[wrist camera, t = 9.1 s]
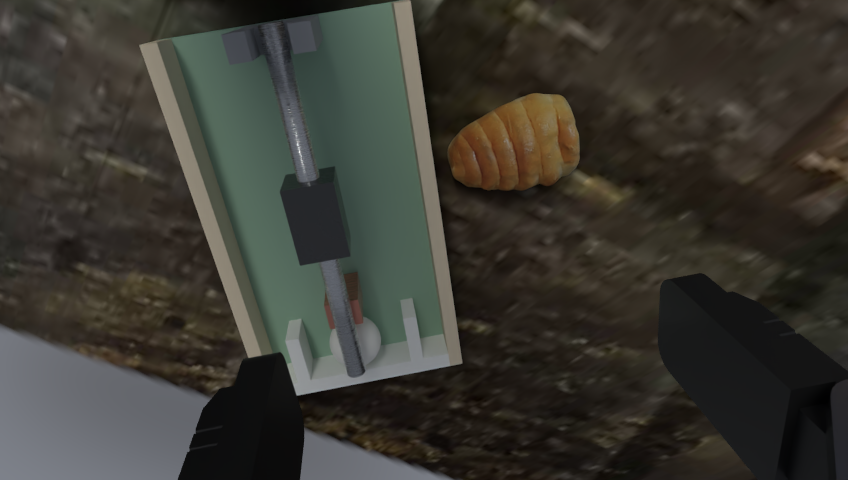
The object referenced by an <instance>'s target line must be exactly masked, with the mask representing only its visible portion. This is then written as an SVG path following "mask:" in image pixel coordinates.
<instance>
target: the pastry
mask: <svg viewBox="0 0 848 480" xmlns="http://www.w3.org/2000/svg"><path fill="white" fill-rule="evenodd" d="M447 155H448V161H449V164H450V167H451V171H452V175H453V177H454V178H455V179H456V180H458V181H459V182H461V183H463V184H464V185H465V186H467V187H478V188H483V189H485V190H488V191H489V190H496V189H499V190H504V191H509V190H512V189H515V190H520V191H522V190H526V189H528V188H530V187H533V186H535V185H537V184H542V185H544V186H550V185H553V184H554V183H556V182H557V181H558V179H559V178H561V177H562V176H568V175H569V174H571V172H572V171H573V170H574V169H575V168H576V166H577V165H578V163H579V159H580V157H579V134H578V131H577V129H576V126H575V119H574V116H573V114H572V111H571V108H570V106H569V104H568V103H567V101H566V99H565V98H564V97H563V96H560V95H552V94H539V93H533V94H529V95H527V96H524V97H521V98H518V99H516V100H514V101H512V102H510V103H507V104H505V105H502V106H500V107H498V108H496V109H495V110H493V111H491V112H489V113H488V114H486V115H484V116H483V117H481V118H479V119H478V120H476V121H474V122H472V123H471V124H469V125H467V126H466V127H464V128H463V129H462V130H461V131H460V132H459V133H458V134H457V135H456V136H455V137H454V139H453V140H452V141H451V143H450V145H449V147H448V150H447Z"/></svg>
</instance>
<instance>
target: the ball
mask: <svg viewBox="0 0 848 480" xmlns="http://www.w3.org/2000/svg"><path fill="white" fill-rule="evenodd" d="M356 330H357V334H358V338H359V342H360V346H361V351H362V355H363V359H364V363H365V365H367V364H368V363H370V362H371V361H372V360H373V359H374V358H375V357H376V356H377V354H378V352H379V350H380V346H381V336H380V332H379V330H378V328H377V326H376V325H375V324H374V323H373V322H372V321H371V320H370V319H368V318H366V317H363V323H362V324H357V325H356ZM329 342H330V349H331V352H332V354H333V356H334V357H335V359H336V360H337V361H338V362H340V363H341V364H343V365H345V364H344V360H343V356H342V352H341V348H340V344H339V341H338V337H337V333H336V329H333V330H332V332H331V335H330V341H329Z"/></svg>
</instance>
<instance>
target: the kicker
mask: <svg viewBox="0 0 848 480" xmlns="http://www.w3.org/2000/svg"><path fill="white" fill-rule="evenodd" d="M257 27H258V31H259V35H260V39H261V42H262V46H263V50H264V54H265V58H266V62H267V66H268V70H269V73H270V77H271V81H272V85H273V89H274V93H275V97H276V101H277V104H278V108H279V112H280V116H281V120H282V124H283V128H284V131H285V135H286V139H287V143H288V147H289V151H290V155H291V159H292V162H293V166H294V170H295V173H293V174H287V175H285V178H284V181H283V183H282V186H281V189H280V195H281V199H282V202H283V206H284V210H285V213H286V217H287V220H288V224H289V228H290V231H291V235H292V239H293V242H294V246H295V250H296V253H297V257H298V260H299V264H300V266H302V265H307V264H313V263H319V267H320V271H321V275H322V279H323V283H324V286H325V301H324V308H325V312H326V315H327V319H328V323H329V327H330V330H331V329H336V333H337V337H338V341H339V344H340V348H341V352H342V356H343V360H344V364H345V368H346V372H347V375H348V376H349V377H352V378H356V377H360V376H362V375H363V374H364V373H365V371H366V367H365V363H364V359H363V355H362V351H361V346H360V342H359V338H358V334H357V330H356V325H357V324H362V323H363V294H362V289H361V285H360V281H359V276H358V272H354V273H348V274H343V271H342V267H341V262H340V258H346V257H351V235H350V230H349V226H348V221H347V217H346V213H345V208H344V204H343V199H342V195H341V190H340V186H339V181H338V177H337V172H336V168H335V166H333V167H327V168H322V169H318V166H317V162H316V158H315V154H314V149H313V145H312V141H311V137H310V133H309V128H308V124H307V120H306V116H305V112H304V107H303V103H302V99H301V95H300V91H299V86H298V82H297V78H296V74H295V70H294V65H293V61H292V57H291V53H290V49H289V45H288V40H287V36H286V32H285V28H284V24H283V21H276V22H270V23H264V24H259V25H257Z"/></svg>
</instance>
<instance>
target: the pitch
mask: <svg viewBox="0 0 848 480" xmlns="http://www.w3.org/2000/svg"><path fill="white" fill-rule="evenodd" d="M277 21H283V24H284V28H285V32H286V36H287V40H288V45H289V49H290V53H291V57H292V61H293V65H294V70H295V74H296V78H297V82H298V86H299V91H300V95H301V99H302V103H303V107H304V112H305V116H306V120H307V124H308V128H309V133H310V137H311V141H312V145H313V149H314V154H315V158H316V162H317V166H318V169H322V168H327V167H333V166H335V168H336V172H337V177H338V181H339V186H340V190H341V195H342V199H343V204H344V208H345V213H346V217H347V221H348V226H349V230H350V235H351V257H346V258H340V262H341V267H342V271H343V274H348V273H354V272H358V276H359V281H360V285H361V289H362V294H363V317H366V318H368V319H370V320H371V321H372V322H373V323H374V324H375V325H376V326H377V328H378V330H379V332H380V336H381V346H380V350H379V352H378V354H377V356H376V357H375V358H374V359H373V360H372V361H371V362H370V363H368V364H367V365H365V367H366V371H365V373H364V374H363V375H362V376H360V377H356V378H352V377H349V376H348V375H347V372H346V368H345V365H343V364H341V363H340V362H338V361H337V360H336V359H335V357H334V356H333V354H332V352H331V349H330V342H329V341H330V335H331V332H332V330H333V329H331V330H330V327H329V323H328V319H327V315H326V312H325V308H324V301H325V286H324V283H323V279H322V275H321V271H320V267H319V263H313V264H307V265H302V266H300V264H299V260H298V257H297V253H296V250H295V246H294V242H293V239H292V235H291V231H290V228H289V224H288V220H287V217H286V213H285V210H284V206H283V202H282V199H281V195H280V189H281V186H282V183H283V181H284V178H285V175H287V174H293V173H295V170H294V166H293V162H292V159H291V155H290V151H289V147H288V143H287V139H286V135H285V131H284V128H283V124H282V120H281V116H280V112H279V108H278V104H277V101H276V97H275V93H274V89H273V85H272V81H271V77H270V73H269V70H268V66H267V62H266V58H265V54H264V50H263V46H262V42H261V39H260V35H259V31H258V27H257V25H259V24H264V23H270V22H264V23H258V24H252V25H246V26H240V27H234V28H228V29H221V30H215V31H209V32H203V33H197V34H191V35H185V36H179V37H172V38H166V39H161V40H157V41H153V42H149V43H146V44H142V45H139V46H140V49H141V51H142V54H143V57H144V60H145V63H146V66H147V69H148V71H149V74H150V77H151V80H152V83H153V86H154V89H155V91H156V94H157V97H158V100H159V103H160V106H161V109H162V112H163V114H164V117H165V120H166V123H167V126H168V129H169V132H170V134H171V137H172V140H173V143H174V146H175V149H176V152H177V154H178V157H179V160H180V163H181V166H182V169H183V172H184V174H185V177H186V180H187V183H188V186H189V189H190V192H191V195H192V197H193V200H194V203H195V206H196V209H197V212H198V215H199V217H200V220H201V223H202V226H203V229H204V232H205V235H206V237H207V240H208V243H209V246H210V249H211V252H212V255H213V257H214V260H215V263H216V266H217V269H218V272H219V275H220V277H221V280H222V283H223V286H224V289H225V292H226V295H227V298H228V300H229V303H230V306H231V309H232V312H233V315H234V318H235V320H236V323H237V326H238V329H239V332H240V335H241V338H242V340H243V343H244V346H245V349H246V352H247V355H248V358H251V357H256V356H261V355H267V354H272V353H277V352H281V353H282V354H283V356H284V358H285V360H286V363H287V367H288V370H289V373H290V376H291V379H292V383H293V386H294V389H295V392H296V395H297V396H298V395H303V394H308V393H313V392H318V391H323V390H329V389H334V388H339V387H344V386H349V385H354V384H360V383H365V382H370V381H375V380H380V379H385V378H391V377H396V376H401V375H406V374H411V373H416V372H422V371H427V370H432V369H437V368H442V367H447V366H453V365H458V364H462V357H461V350H460V343H459V336H458V329H457V322H456V315H455V308H454V301H453V294H452V287H451V280H450V273H449V266H448V259H447V252H446V245H445V238H444V231H443V224H442V217H441V210H440V203H439V196H438V189H437V182H436V175H435V168H434V162H433V155H432V148H431V141H430V134H429V127H428V120H427V113H426V106H425V99H424V92H423V85H422V78H421V71H420V64H419V57H418V50H417V43H416V36H415V29H414V22H413V15H412V8H411V1H409V0H399V1H393V2H387V3H381V4H375V5H369V6H363V7H356V8H350V9H344V10H338V11H332V12H326V13H320V14H313V15H307V16H301V17H295V18H289V19H283V20H277ZM271 22H276V21H271Z"/></svg>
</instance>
